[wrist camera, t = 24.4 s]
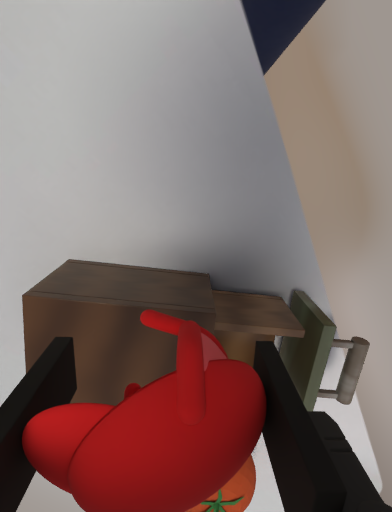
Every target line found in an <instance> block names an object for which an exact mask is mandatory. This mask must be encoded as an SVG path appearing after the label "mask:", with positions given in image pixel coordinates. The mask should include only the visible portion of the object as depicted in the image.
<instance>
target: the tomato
mask: <svg viewBox="0 0 392 512" xmlns="http://www.w3.org/2000/svg"><path fill="white" fill-rule="evenodd" d="M255 484H256V472H255V465H254V462H253V459H252V456H251V455H250V456H249V458H248V459H247V461H246V462H245V463H244V465H243V466H242V467H241V468H240V470H239V471H238V472H237V473H236V474H235V475H234V476H233V477H232V478H231V479H230V480H229V481H228V482H227V483H226V484H225V485H224V486H223V487H222V488H221V489H220V490H218V491H217V492H216V493H215V494H213V495H212V496H211V497H209V498H208V499H206V500H205V501H203V502H202V503H200V504H199V505H197V506H195V507H193V508H191V509H190V510H188V511H186V512H243V511H244V510H245V509H246V508H247V507H248V505H249V504H250V502H251V500H252V497H253V494H254V490H255Z"/></svg>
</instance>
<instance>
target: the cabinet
mask: <svg viewBox="0 0 392 512" xmlns="http://www.w3.org/2000/svg"><path fill="white" fill-rule="evenodd" d="M22 301H23V322H24V342H25V362H26V374H27V372H28V371H29V370H30V368H31V367H32V366H33V365H34V363H35V362H36V361H37V360H38V358H39V357H40V356H41V354H42V353H43V352H44V351H45V349H46V348H47V347H48V345H49V344H50V343H51V342H52V340H53V339H54V338H55V337H73V344H74V356H75V368H76V380H77V390H76V392H75V394H74V396H73V398H72V400H71V402H70V404H71V403H99V404H107V405H113V406H116V405H117V404H119V403H120V402H121V401H123V400H124V392H125V389H126V387H127V386H128V385H129V384H131V383H137V384H139V385H140V386H141V388H142V387H144V386H145V385H147V384H149V383H151V382H153V381H154V380H156V379H158V378H160V377H162V376H164V375H166V374H169V373H171V372H173V371H176V358H177V341H178V336H177V335H173V334H170V333H167V332H163V331H160V330H157V329H154V328H151V327H148V326H145V325H143V324H142V322H141V320H140V316H141V314H142V312H143V311H145V310H148V309H151V310H154V311H157V312H160V313H163V314H166V315H170V316H173V317H176V318H179V319H182V320H185V321H190V320H191V321H194V322H196V323H197V324H198V325H199V326H201V327H202V328H204V329H206V330H207V331H209V332H210V333H211V334H214V327H215V321H216V310H215V304H214V299H213V294H212V289H211V284H210V279H209V274H206V273H196V272H186V271H177V270H167V269H158V268H148V267H138V266H129V265H119V264H109V263H100V262H90V261H81V260H71V259H69V260H67V261H66V262H65V263H64V264H62V265H61V266H60V267H59V268H57V269H56V270H55V271H53V272H52V273H51V274H49V275H48V276H47V277H46V278H44V279H43V280H42V281H40V282H39V283H38V284H36V285H35V286H34V287H33V288H31V289H30V290H29V291H27V292H26V293H25V294H23V295H22Z"/></svg>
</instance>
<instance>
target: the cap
mask: <svg viewBox="0 0 392 512" xmlns="http://www.w3.org/2000/svg"><path fill="white" fill-rule="evenodd" d="M140 320H141V322H142V324H143V325H145V326H148V327H151V328H154V329H157V330H160V331H163V332H167V333H170V334H173V335H177V336H178V341H177V358H176V371H173V372H171V373H169V374H166V375H164V376H162V377H160V378H158V379H156V380H154V381H153V382H151V383H149V384H147V385H145V386H144V387H142V388H141V386H140V385H139V384H137V383H131V384H129V385H128V386H127V387H126V389H125V392H124V400H123V401H121V402H120V403H119V404H117V405H116V406H113V405H107V404H99V403H71V404H64V405H59V406H55V407H52V408H49V409H46V410H44V411H42V412H40V413H38V414H37V415H35V416H34V417H33V418H32V419H31V420H30V421H29V422H28V423H27V424H26V426H25V428H24V430H23V434H22V446H23V450H24V453H25V455H26V457H27V459H28V461H29V462H30V463H31V465H32V466H33V467H34V468H35V470H36V471H37V472H38V473H39V474H41V475H42V476H43V477H44V478H46V479H47V480H48V481H49V482H51V483H52V484H54V485H56V486H57V487H59V488H60V489H62V490H65V491H66V492H69V493H70V494H72V495H73V497H74V499H75V500H76V502H77V503H78V505H79V506H80V507H81V508H82V509H83V510H84V511H86V512H186V511H188V510H190V509H191V508H193V507H195V506H197V505H199V504H200V503H202V502H203V501H205V500H206V499H208V498H209V497H211V496H212V495H213V494H215V493H216V492H217V491H218V490H220V489H221V488H222V487H223V486H224V485H225V484H226V483H227V482H228V481H229V480H230V479H231V478H232V477H233V476H234V475H235V474H236V473H237V472H238V471H239V470H240V468H241V467H242V466H243V465H244V463H245V462H246V461H247V459H248V458H249V456H250V455H251V453H252V451H253V450H254V448H255V446H256V444H257V442H258V440H259V438H260V435H261V432H262V430H263V426H264V422H265V417H266V409H267V401H266V393H265V389H264V386H263V383H262V381H261V379H260V377H259V375H258V374H257V373H256V371H255V370H254V369H253V368H252V367H251V366H250V365H248V364H247V363H245V362H242V361H239V360H233V359H228V356H227V354H226V352H225V350H224V348H223V347H222V345H221V344H220V342H219V341H218V340H217V339H216V338H215V336H214V335H213V334H211V333H210V332H209V331H207V330H206V329H204V328H202V327H201V326H199V325H198V324H197V323H196V322H194V321H191V320H190V321H185V320H182V319H179V318H176V317H173V316H170V315H166V314H163V313H160V312H157V311H154V310H151V309H148V310H145V311H143V312H142V314H141V316H140Z"/></svg>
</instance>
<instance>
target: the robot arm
mask: <svg viewBox="0 0 392 512" xmlns="http://www.w3.org/2000/svg"><path fill="white" fill-rule="evenodd" d="M253 369H254V370H255V371H256V373H257V374H258V375H259V377H260V379H261V381H262V383H263V386H264V389H265V393H266V401H267V409H266V417H265V422H264V426H263V430H262V433H263V437H264V440H265V444H266V447H267V451H268V455H269V458H270V462H271V465H272V469H273V472H274V476H275V479H276V483H277V486H278V490H279V493H280V497H281V500H282V504H283V507H284V511H285V512H392V507H390V506H388V505H386V504H385V503H384V501H383V500H382V499H381V497H380V495H379V494H378V492H377V490H376V489H375V487H374V485H373V484H372V482H371V480H370V478H369V477H368V475H367V473H366V472H365V470H364V468H363V467H362V465H361V463H360V461H359V460H358V458H357V456H356V455H355V453H354V452H353V451H352V448H351V446H350V445H349V443H348V441H347V440H346V439H345V436H344V434H343V433H342V431H341V429H340V428H339V426H338V424H337V423H336V422H335V421H334V420H333V419H332V418H331V417H330V416H329V415H328V414H327V413H325V412H321V411H307V410H306V408H305V406H304V404H303V402H302V399H301V397H300V395H299V393H298V391H297V389H296V387H295V385H294V383H293V381H292V379H291V377H290V375H289V373H288V371H287V369H286V367H285V365H284V363H283V361H282V359H281V357H280V355H279V353H278V351H277V349H276V347H275V345H274V343H273V341H256V345H255V354H254V363H253ZM76 390H77V380H76V368H75V356H74V344H73V337H55V338H54V339H53V340H52V342H51V343H50V344H49V345H48V347H47V348H46V349H45V351H44V352H43V353H42V354H41V356H40V357H39V358H38V360H37V361H36V362H35V363H34V365H33V366H32V367H31V368H30V370H29V371H28V372H27V374H26V375H25V376H24V377H23V379H22V380H21V381H20V382H19V384H18V385H17V386H16V388H15V389H14V390H13V391H12V393H11V394H10V395H9V397H8V398H7V399H6V400H5V402H4V403H3V404H2V405H1V407H0V512H16V510H17V508H18V506H19V504H20V502H21V500H22V498H23V496H24V494H25V492H26V490H27V488H28V486H29V484H30V482H31V480H32V478H33V476H34V474H35V472H36V470H35V468H34V467H33V466H32V465H31V463H30V462H29V461H28V459H27V457H26V455H25V453H24V450H23V446H22V434H23V430H24V428H25V426H26V424H27V423H28V422H29V421H30V420H31V419H32V418H33V417H34V416H35V415H37V414H38V413H40V412H42V411H44V410H46V409H49V408H52V407H55V406H59V405H64V404H70V402H71V400H72V398H73V396H74V394H75V392H76Z"/></svg>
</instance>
